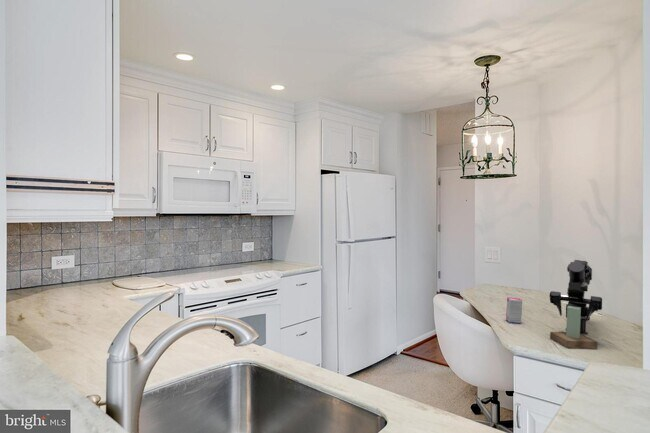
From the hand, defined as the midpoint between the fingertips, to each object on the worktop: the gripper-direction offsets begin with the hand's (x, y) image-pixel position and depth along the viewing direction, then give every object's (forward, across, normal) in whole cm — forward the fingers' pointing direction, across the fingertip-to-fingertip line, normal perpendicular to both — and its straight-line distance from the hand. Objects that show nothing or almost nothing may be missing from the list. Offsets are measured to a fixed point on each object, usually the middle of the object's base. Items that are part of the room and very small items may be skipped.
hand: (573, 317), depth 166 cm
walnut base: (+8, 0, +8) cm, 11 cm away
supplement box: (-6, -26, +22) cm, 35 cm away
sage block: (+6, 0, +6) cm, 8 cm away
